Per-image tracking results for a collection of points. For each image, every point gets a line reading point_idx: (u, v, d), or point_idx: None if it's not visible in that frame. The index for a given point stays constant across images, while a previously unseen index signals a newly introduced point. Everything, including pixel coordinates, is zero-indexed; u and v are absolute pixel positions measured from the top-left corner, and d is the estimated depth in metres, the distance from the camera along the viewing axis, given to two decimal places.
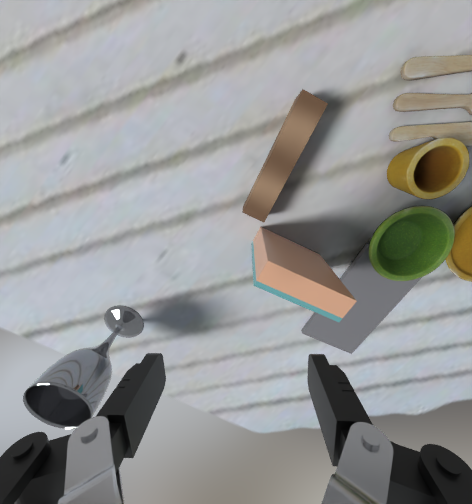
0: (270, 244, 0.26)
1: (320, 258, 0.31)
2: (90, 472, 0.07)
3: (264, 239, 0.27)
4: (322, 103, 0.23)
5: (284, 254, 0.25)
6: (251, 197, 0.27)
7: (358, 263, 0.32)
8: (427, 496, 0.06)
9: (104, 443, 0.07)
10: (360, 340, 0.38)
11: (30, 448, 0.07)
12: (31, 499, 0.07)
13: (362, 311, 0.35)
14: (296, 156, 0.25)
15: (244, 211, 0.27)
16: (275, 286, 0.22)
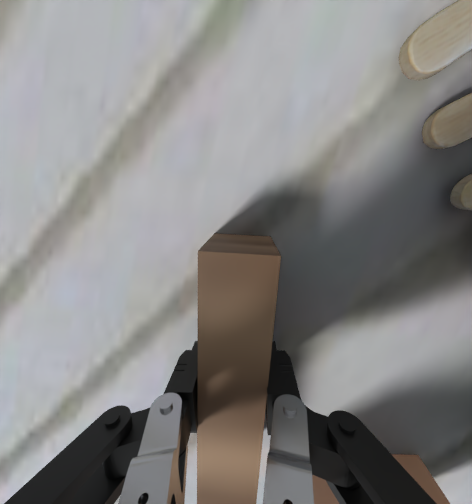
0: None
1: (433, 495, 0.13)
2: (159, 444, 0.07)
3: None
4: (266, 260, 0.08)
5: None
6: (200, 483, 0.11)
7: None
8: (327, 451, 0.07)
9: (174, 422, 0.08)
10: None
11: (118, 419, 0.08)
12: (112, 467, 0.08)
13: None
14: (259, 384, 0.09)
15: None
16: None
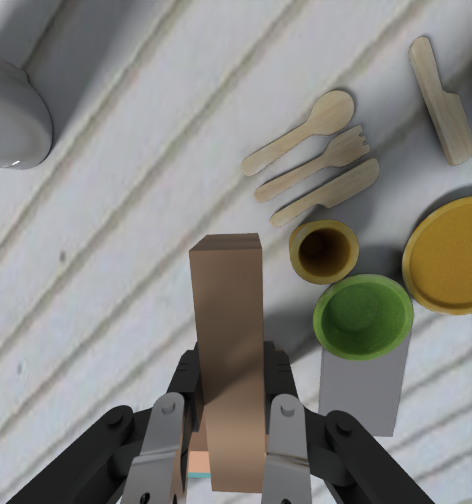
0: None
1: None
2: (161, 444, 0.07)
3: None
4: (249, 254, 0.09)
5: None
6: (212, 464, 0.12)
7: None
8: (325, 450, 0.07)
9: (176, 422, 0.08)
10: (391, 418, 0.30)
11: (120, 418, 0.08)
12: (114, 467, 0.08)
13: (369, 387, 0.29)
14: (255, 367, 0.10)
15: (214, 489, 0.12)
16: (208, 470, 0.18)
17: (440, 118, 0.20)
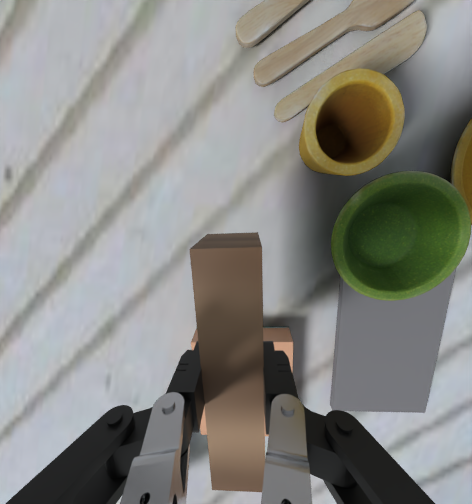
0: None
1: None
2: (161, 444, 0.07)
3: None
4: (249, 252, 0.09)
5: None
6: (212, 462, 0.12)
7: (346, 288, 0.21)
8: (325, 450, 0.07)
9: (176, 422, 0.08)
10: (424, 388, 0.23)
11: (120, 418, 0.08)
12: (114, 467, 0.08)
13: (398, 348, 0.22)
14: (255, 364, 0.10)
15: (214, 487, 0.12)
16: None
17: None
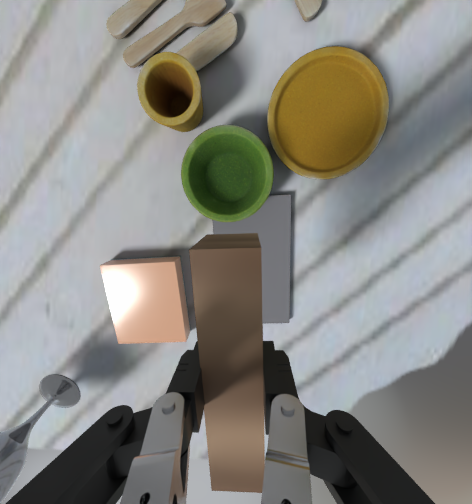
0: (116, 309, 0.30)
1: (172, 277, 0.29)
2: (161, 444, 0.07)
3: (110, 303, 0.30)
4: (248, 253, 0.09)
5: (129, 317, 0.31)
6: (212, 463, 0.12)
7: (215, 222, 0.28)
8: (325, 450, 0.07)
9: (176, 422, 0.08)
10: (285, 302, 0.31)
11: (120, 418, 0.08)
12: (114, 467, 0.08)
13: None
14: (254, 365, 0.10)
15: (214, 488, 0.12)
16: None
17: None
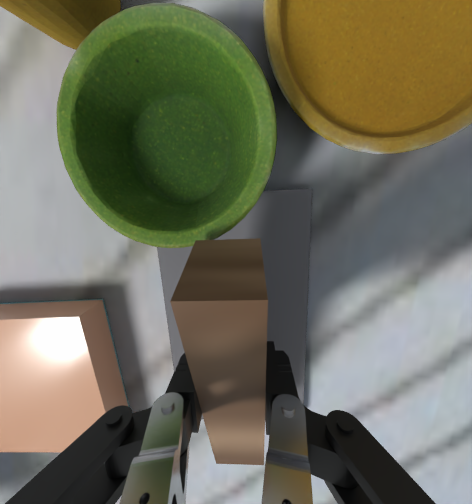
0: None
1: (77, 344, 0.15)
2: (160, 444, 0.07)
3: None
4: (250, 305, 0.07)
5: (11, 412, 0.17)
6: (215, 451, 0.13)
7: None
8: (325, 450, 0.07)
9: (176, 422, 0.08)
10: None
11: (120, 418, 0.08)
12: (114, 467, 0.08)
13: None
14: (256, 396, 0.09)
15: (218, 462, 0.14)
16: None
17: None
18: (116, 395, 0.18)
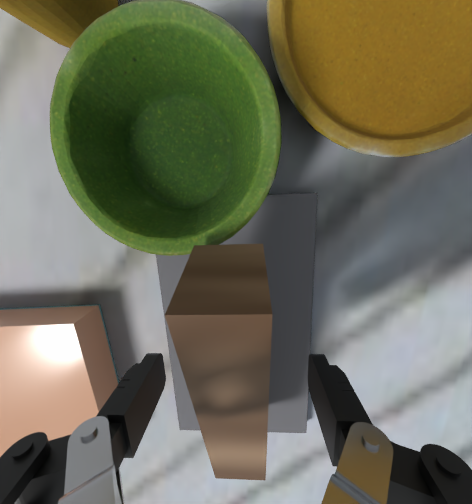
0: None
1: (72, 352, 0.14)
2: (90, 472, 0.07)
3: None
4: (253, 319, 0.06)
5: (4, 422, 0.16)
6: (215, 466, 0.12)
7: None
8: (427, 496, 0.06)
9: (104, 443, 0.07)
10: (300, 399, 0.16)
11: (30, 448, 0.07)
12: (31, 499, 0.07)
13: None
14: (258, 413, 0.09)
15: (218, 477, 0.13)
16: None
17: None
18: None
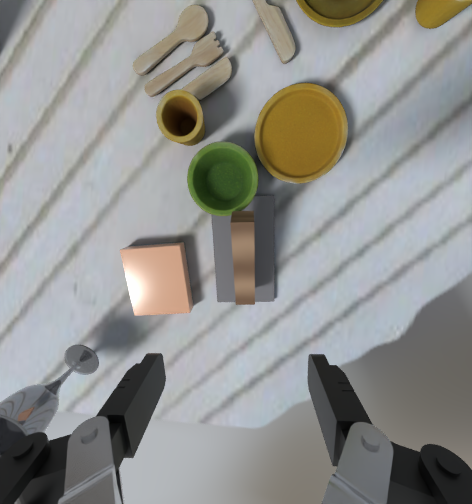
0: (133, 286, 0.37)
1: (177, 258, 0.35)
2: (90, 472, 0.07)
3: (127, 281, 0.37)
4: (250, 223, 0.27)
5: (143, 293, 0.37)
6: (236, 294, 0.33)
7: (214, 217, 0.35)
8: (427, 496, 0.06)
9: (104, 443, 0.07)
10: (271, 284, 0.37)
11: (30, 448, 0.07)
12: (31, 499, 0.07)
13: None
14: (251, 260, 0.30)
15: (236, 303, 0.34)
16: None
17: (268, 25, 0.28)
18: (188, 287, 0.38)
